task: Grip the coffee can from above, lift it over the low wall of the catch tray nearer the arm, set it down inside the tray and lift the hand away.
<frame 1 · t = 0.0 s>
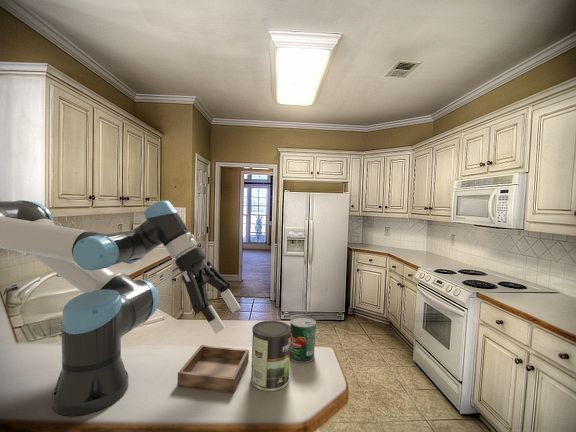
hand: (229, 319, 81), 15 cm above the table, tool tilted 35°, fingers open, 13 cm apart
catch tray: (215, 372, 82), on the table
coffee can: (269, 380, 80), on the table
canned tomato: (301, 356, 93), on the table
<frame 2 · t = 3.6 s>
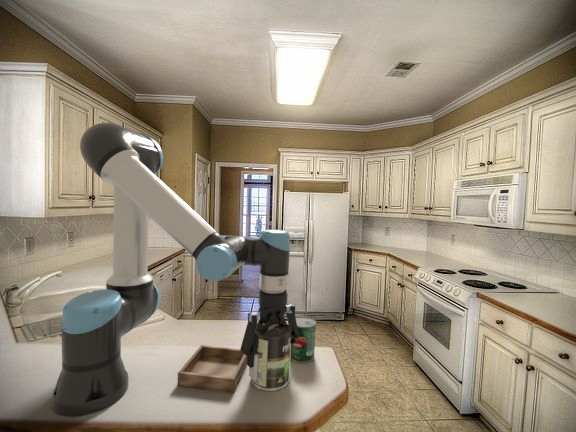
hand: (270, 371, 80), 2 cm above the table, tool pointing down, fingers closed on coffee can, 10 cm apart
coffee can: (269, 379, 80), on the table, touching gripper
everything else where it was.
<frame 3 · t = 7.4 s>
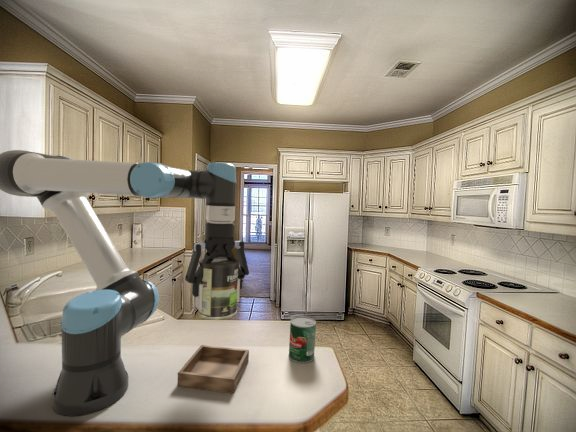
hand: (217, 304, 81), 19 cm above the table, tool pointing down, fingers closed on coffee can, 10 cm apart
coffee can: (217, 313, 81), point 17 cm above the table, touching gripper
everything else where it was.
when the fingers open (4 cm above the table, at t = 11.0 s): coffee can drops 1 cm, resting on catch tray.
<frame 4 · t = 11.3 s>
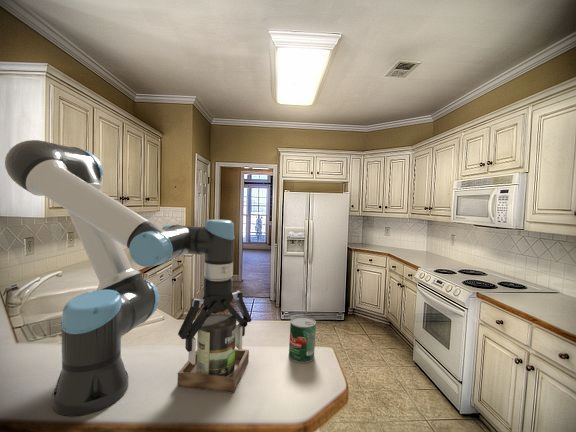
hand: (216, 354, 82), 5 cm above the table, tool pointing down, fingers open, 13 cm apart
coffee can: (215, 371, 82), resting on catch tray
everything else where it was.
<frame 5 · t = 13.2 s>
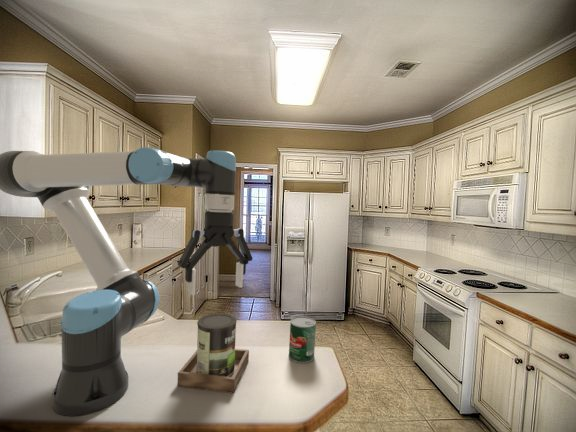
hand: (216, 290, 80), 23 cm above the table, tool pointing down, fingers open, 13 cm apart
nothing on the table moved.
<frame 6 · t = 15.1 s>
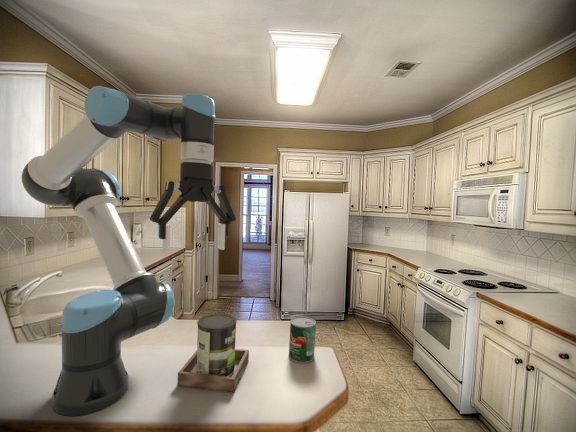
hand: (195, 251, 73), 35 cm above the table, tool pointing down, fingers open, 13 cm apart
nothing on the table moved.
at the end: coffee can 0.0 cm off-centre on the catch tray, point 0.4 cm above the catch tray's base; coffee can tilted 0°; the gripper is holding nothing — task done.
